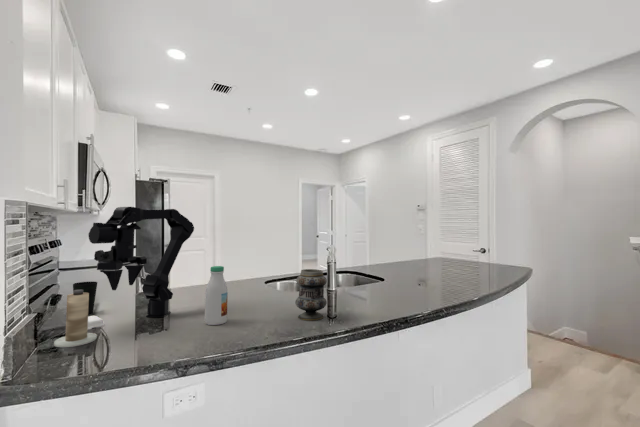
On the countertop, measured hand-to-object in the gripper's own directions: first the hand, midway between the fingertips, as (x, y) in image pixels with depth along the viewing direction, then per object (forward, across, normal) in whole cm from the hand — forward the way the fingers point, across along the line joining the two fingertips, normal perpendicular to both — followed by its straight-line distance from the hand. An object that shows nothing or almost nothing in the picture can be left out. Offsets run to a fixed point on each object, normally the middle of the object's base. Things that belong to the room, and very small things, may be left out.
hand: (122, 287), depth 109 cm
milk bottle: (+13, -5, +31) cm, 34 cm away
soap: (+14, 0, -11) cm, 17 cm away
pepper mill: (+12, +15, -4) cm, 20 cm away
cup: (+13, -13, -23) cm, 29 cm away
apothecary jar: (+13, -13, +65) cm, 68 cm away
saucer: (+13, +15, -4) cm, 20 cm away
